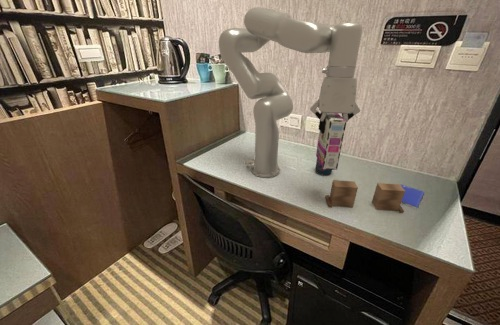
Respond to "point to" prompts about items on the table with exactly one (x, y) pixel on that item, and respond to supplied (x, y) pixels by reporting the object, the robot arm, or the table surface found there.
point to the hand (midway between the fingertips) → (331, 132)
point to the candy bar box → (331, 141)
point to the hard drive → (411, 197)
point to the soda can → (320, 170)
